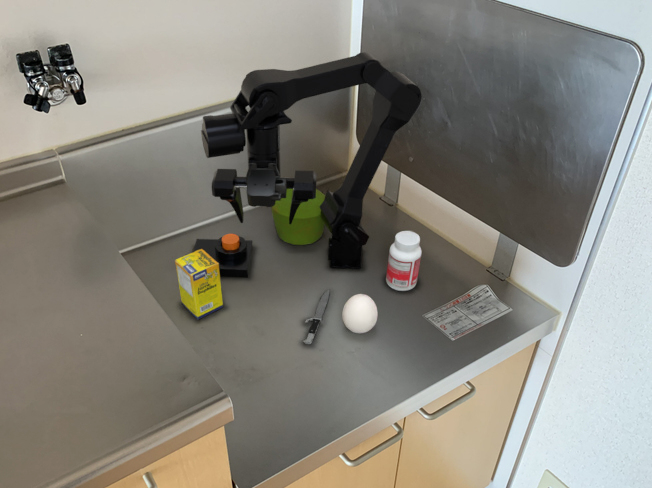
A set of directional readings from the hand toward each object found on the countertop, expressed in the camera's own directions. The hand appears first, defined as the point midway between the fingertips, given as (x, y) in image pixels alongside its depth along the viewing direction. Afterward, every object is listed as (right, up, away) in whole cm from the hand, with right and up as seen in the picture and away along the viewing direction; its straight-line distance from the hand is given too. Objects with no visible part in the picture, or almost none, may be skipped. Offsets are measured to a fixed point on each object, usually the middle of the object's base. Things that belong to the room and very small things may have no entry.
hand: (266, 222), depth 117 cm
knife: (+9, -18, -1) cm, 20 cm away
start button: (-8, -3, +10) cm, 13 cm away
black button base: (-10, -7, +12) cm, 17 cm away
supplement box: (-12, -16, +2) cm, 20 cm away
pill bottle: (+27, -11, +7) cm, 30 cm away
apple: (+7, -1, +19) cm, 20 cm away
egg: (+17, -20, -3) cm, 27 cm away
